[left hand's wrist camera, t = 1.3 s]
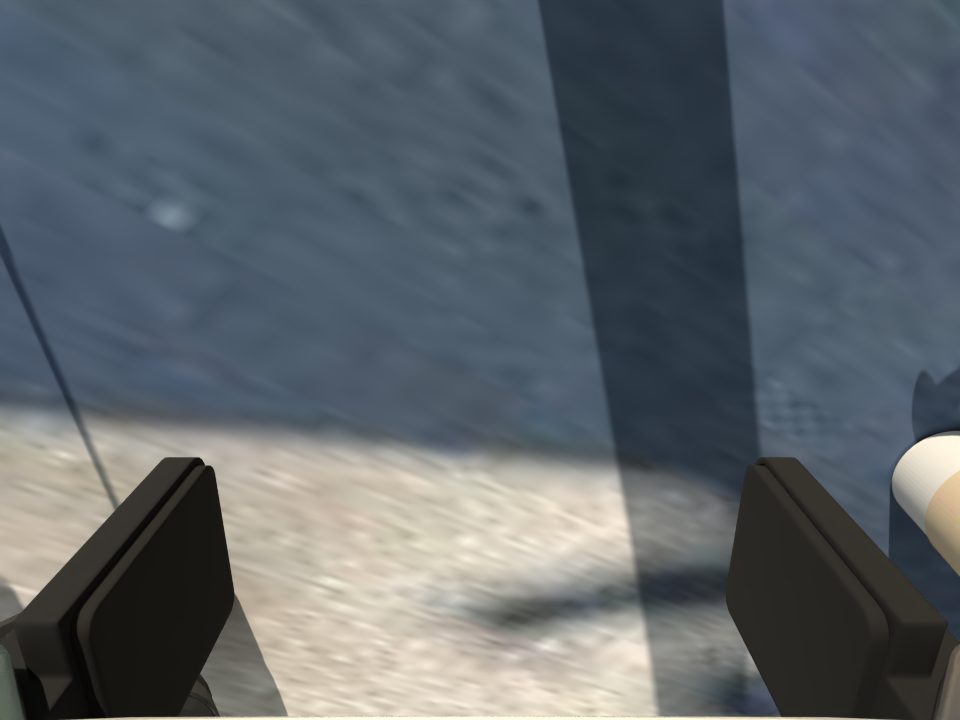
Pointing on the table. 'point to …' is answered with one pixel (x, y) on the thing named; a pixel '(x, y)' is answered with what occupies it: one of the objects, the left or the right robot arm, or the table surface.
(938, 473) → the coffee cup
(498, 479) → the table surface
